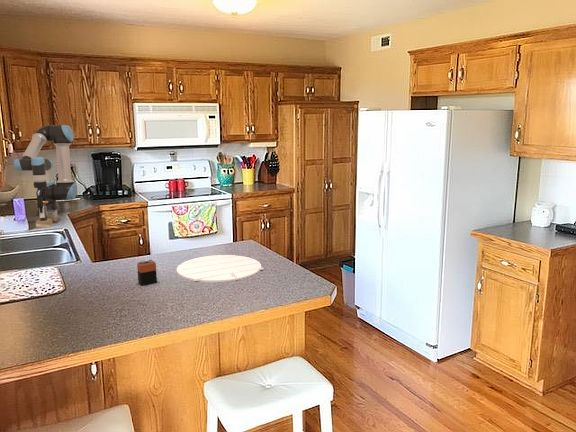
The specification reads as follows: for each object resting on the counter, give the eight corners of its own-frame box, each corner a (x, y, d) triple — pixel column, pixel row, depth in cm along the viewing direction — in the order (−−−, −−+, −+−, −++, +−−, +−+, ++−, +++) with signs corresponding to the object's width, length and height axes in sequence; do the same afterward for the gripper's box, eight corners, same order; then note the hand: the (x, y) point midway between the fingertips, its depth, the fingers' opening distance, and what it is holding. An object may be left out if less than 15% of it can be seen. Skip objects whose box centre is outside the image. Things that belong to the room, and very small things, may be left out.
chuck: (42, 220, 329) (41, 209, 327) (60, 219, 332) (59, 209, 330) (37, 224, 317) (36, 213, 316) (57, 223, 320) (56, 212, 319)
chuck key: (38, 225, 312) (36, 200, 309) (51, 224, 314) (49, 200, 311) (37, 226, 308) (34, 201, 305) (50, 225, 310) (47, 201, 307)
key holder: (39, 225, 314) (38, 219, 313) (52, 224, 316) (51, 218, 315) (36, 227, 306) (35, 221, 306) (49, 227, 308) (49, 221, 307)
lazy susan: (276, 274, 215) (276, 267, 214) (193, 289, 196) (193, 281, 195) (240, 253, 249) (240, 247, 248) (166, 264, 230) (166, 257, 229)
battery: (138, 283, 202) (136, 260, 200) (153, 280, 206) (152, 257, 204) (141, 286, 199) (140, 263, 197) (157, 282, 202) (156, 260, 200)
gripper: (37, 179, 313) (40, 214, 318) (29, 183, 296) (33, 219, 300) (49, 179, 315) (53, 213, 320) (42, 182, 297) (46, 219, 302)
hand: (43, 216), depth 310 cm, fingers open, 6 cm apart
